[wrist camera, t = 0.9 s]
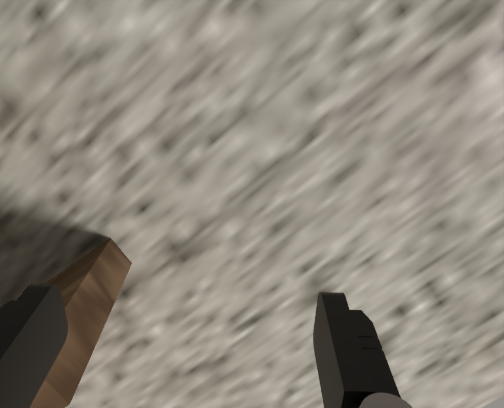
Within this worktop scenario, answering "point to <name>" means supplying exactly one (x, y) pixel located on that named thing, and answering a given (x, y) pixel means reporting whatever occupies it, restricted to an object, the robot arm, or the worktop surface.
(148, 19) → the worktop surface
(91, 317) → the board
